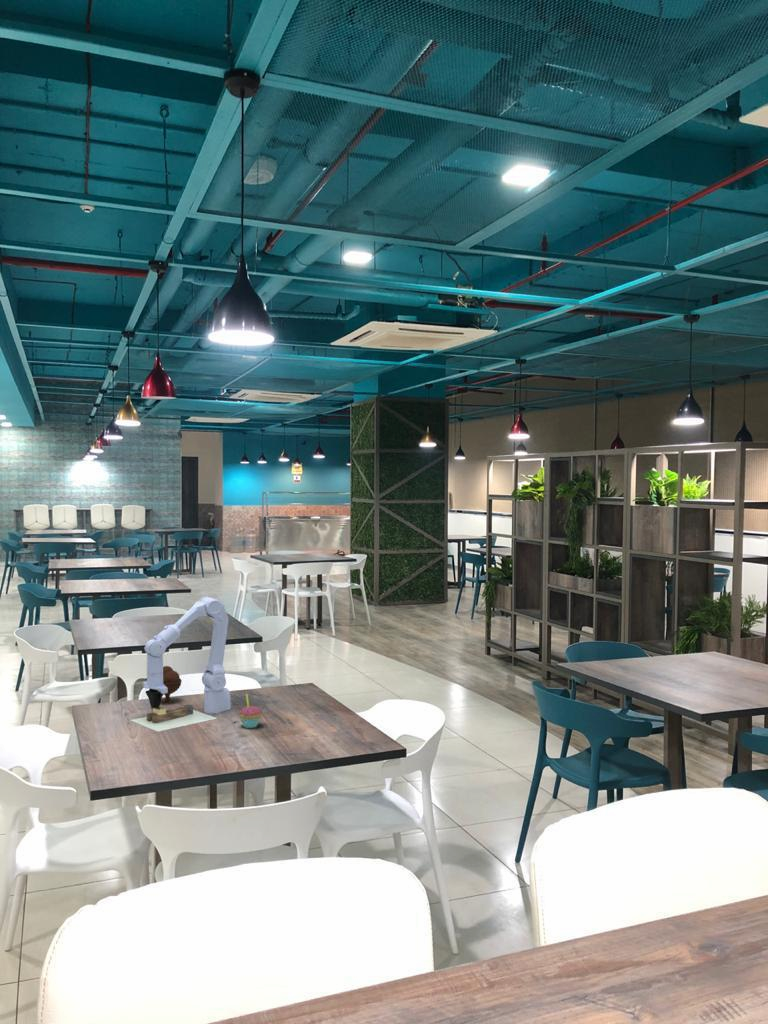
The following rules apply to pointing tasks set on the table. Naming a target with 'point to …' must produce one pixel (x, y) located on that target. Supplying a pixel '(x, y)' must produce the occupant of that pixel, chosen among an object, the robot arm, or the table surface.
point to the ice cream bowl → (170, 682)
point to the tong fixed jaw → (189, 707)
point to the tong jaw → (170, 715)
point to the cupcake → (250, 715)
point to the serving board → (174, 721)
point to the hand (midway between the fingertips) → (155, 709)
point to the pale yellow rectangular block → (159, 710)
